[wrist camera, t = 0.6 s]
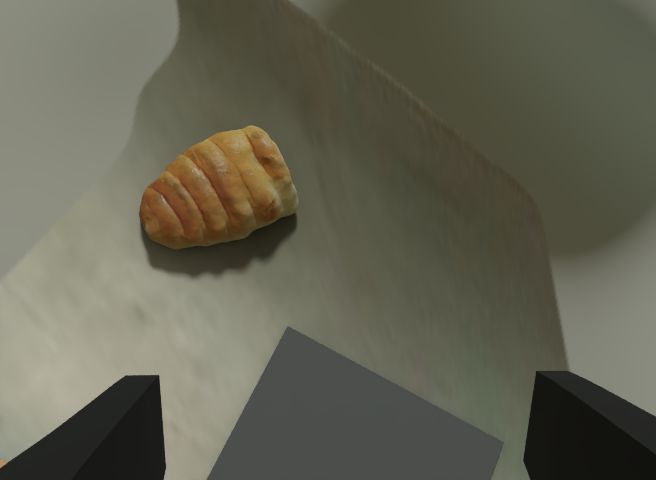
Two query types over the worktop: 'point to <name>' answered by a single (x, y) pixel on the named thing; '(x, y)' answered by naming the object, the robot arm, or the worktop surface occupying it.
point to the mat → (346, 426)
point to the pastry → (219, 191)
